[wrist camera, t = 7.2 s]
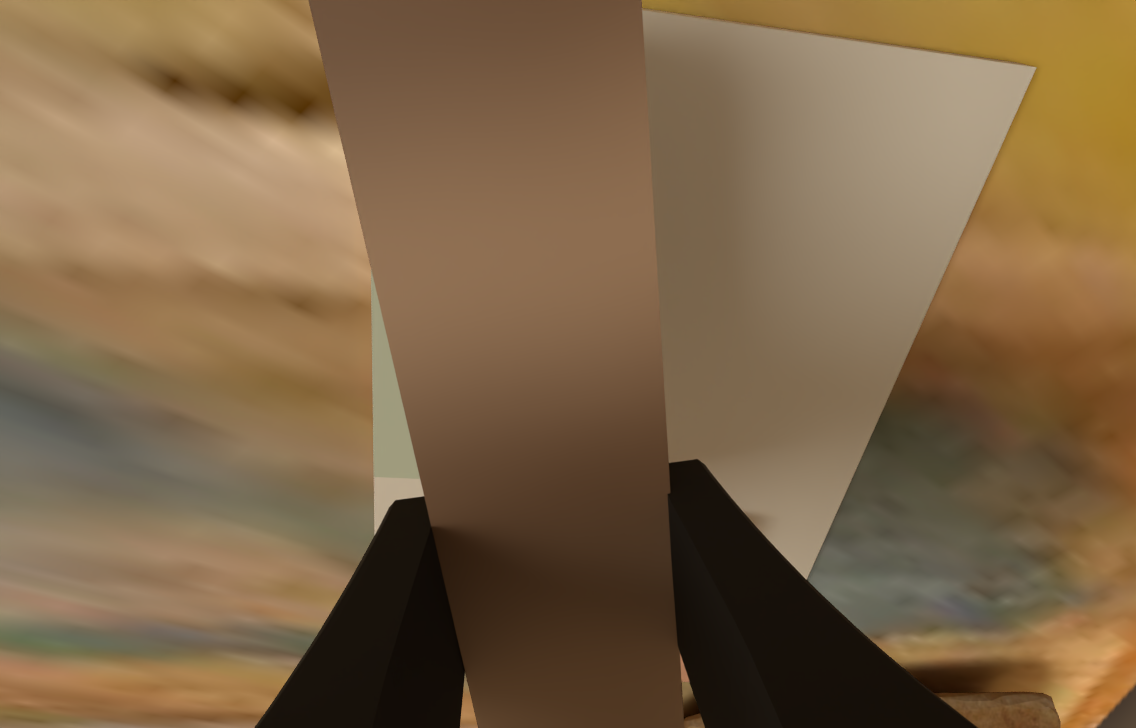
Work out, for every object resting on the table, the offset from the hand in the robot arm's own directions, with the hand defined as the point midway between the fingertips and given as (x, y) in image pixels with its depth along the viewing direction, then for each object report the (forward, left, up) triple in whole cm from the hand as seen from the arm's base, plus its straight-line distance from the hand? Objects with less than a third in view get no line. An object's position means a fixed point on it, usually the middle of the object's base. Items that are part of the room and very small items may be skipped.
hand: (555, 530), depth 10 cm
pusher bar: (0, -1, -4) cm, 4 cm away
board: (-3, +2, -9) cm, 9 cm away
